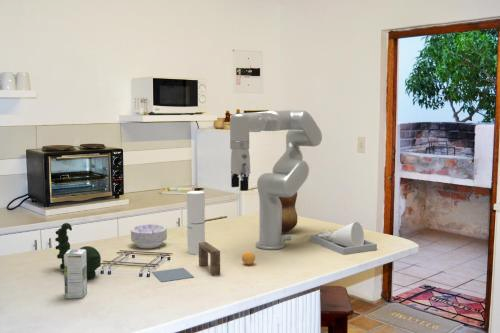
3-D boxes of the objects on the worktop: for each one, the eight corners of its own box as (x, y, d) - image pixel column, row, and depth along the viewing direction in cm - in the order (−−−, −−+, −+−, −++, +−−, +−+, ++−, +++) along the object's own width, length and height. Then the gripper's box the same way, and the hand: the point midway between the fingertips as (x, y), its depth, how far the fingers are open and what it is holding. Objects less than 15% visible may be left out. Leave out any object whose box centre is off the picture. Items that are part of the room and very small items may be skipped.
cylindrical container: (202, 254, 218) (201, 193, 215) (185, 253, 219) (184, 193, 216) (207, 250, 225) (206, 191, 222) (190, 249, 226) (190, 190, 223)
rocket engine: (317, 220, 237) (353, 216, 226) (329, 233, 244) (365, 230, 233) (311, 243, 231) (349, 240, 220) (324, 256, 238) (361, 254, 227)
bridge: (206, 264, 205) (206, 241, 204) (220, 274, 192) (220, 250, 191) (198, 265, 204) (198, 242, 203) (212, 275, 191) (212, 251, 190)
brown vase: (298, 235, 251) (298, 182, 248) (269, 235, 251) (269, 182, 248) (296, 228, 265) (296, 178, 262) (269, 228, 265) (269, 178, 262)
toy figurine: (51, 275, 197) (88, 284, 180) (46, 224, 196) (83, 228, 179) (74, 269, 204) (112, 277, 187) (70, 220, 203) (108, 223, 186)
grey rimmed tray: (341, 236, 248) (342, 231, 248) (376, 249, 225) (376, 244, 225) (310, 240, 240) (310, 235, 240) (343, 254, 218) (343, 248, 218)
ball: (251, 261, 208) (251, 249, 208) (257, 265, 204) (257, 252, 203) (239, 263, 206) (239, 250, 205) (245, 266, 201) (245, 253, 201)
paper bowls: (142, 252, 221) (142, 233, 220) (124, 245, 232) (124, 227, 232) (173, 246, 231) (173, 228, 230) (155, 239, 242) (154, 222, 242)
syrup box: (69, 292, 174) (67, 248, 172) (87, 292, 174) (86, 248, 172) (64, 299, 168) (62, 253, 166) (84, 298, 168) (82, 253, 167)
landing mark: (183, 268, 200) (183, 267, 200) (194, 277, 189) (194, 276, 189) (151, 272, 195) (151, 271, 195) (161, 282, 184) (161, 281, 184)
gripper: (257, 146, 204) (257, 191, 206) (240, 143, 220) (240, 185, 222) (238, 147, 201) (238, 192, 203) (223, 144, 217) (223, 186, 219)
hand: (239, 188), depth 212 cm, fingers open, 9 cm apart
